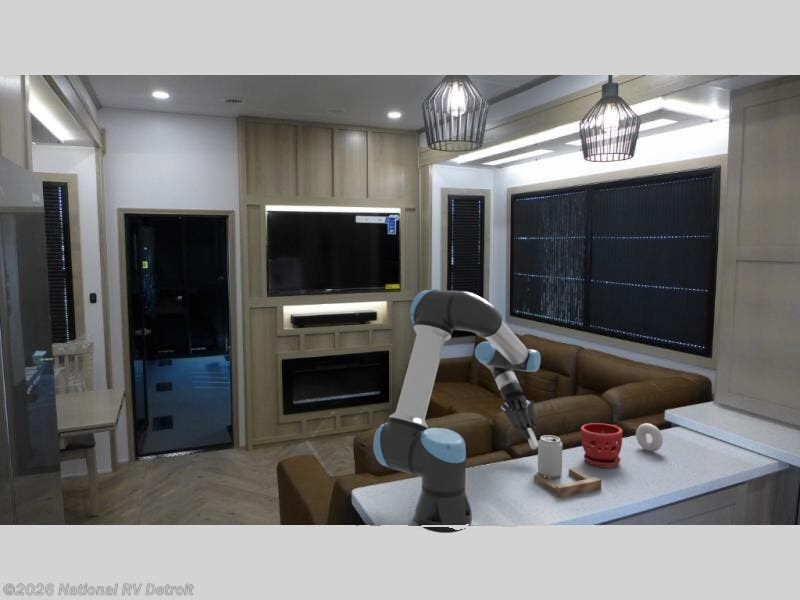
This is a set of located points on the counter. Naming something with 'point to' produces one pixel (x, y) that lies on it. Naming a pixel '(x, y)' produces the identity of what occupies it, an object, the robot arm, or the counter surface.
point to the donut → (653, 432)
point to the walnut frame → (570, 484)
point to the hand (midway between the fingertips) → (535, 447)
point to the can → (550, 456)
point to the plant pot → (601, 444)
